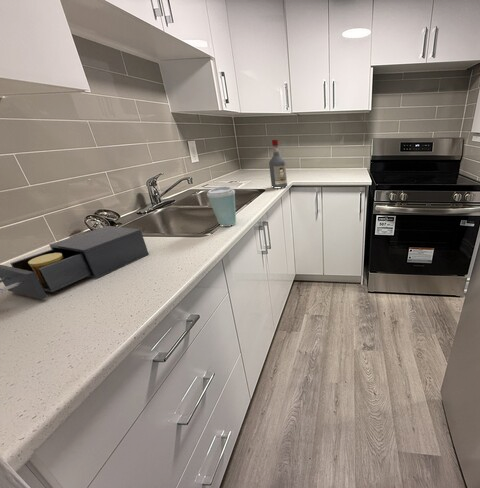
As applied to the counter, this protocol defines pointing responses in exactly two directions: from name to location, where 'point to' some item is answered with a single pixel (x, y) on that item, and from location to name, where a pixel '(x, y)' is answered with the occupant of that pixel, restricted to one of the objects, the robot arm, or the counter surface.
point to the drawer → (44, 274)
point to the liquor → (277, 168)
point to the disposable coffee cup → (223, 204)
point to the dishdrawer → (107, 248)
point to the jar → (44, 263)
